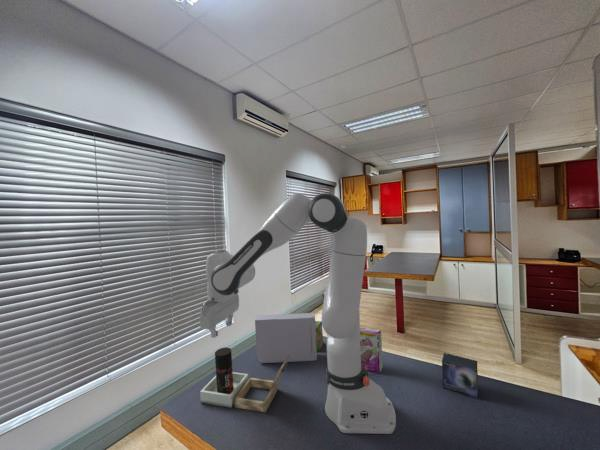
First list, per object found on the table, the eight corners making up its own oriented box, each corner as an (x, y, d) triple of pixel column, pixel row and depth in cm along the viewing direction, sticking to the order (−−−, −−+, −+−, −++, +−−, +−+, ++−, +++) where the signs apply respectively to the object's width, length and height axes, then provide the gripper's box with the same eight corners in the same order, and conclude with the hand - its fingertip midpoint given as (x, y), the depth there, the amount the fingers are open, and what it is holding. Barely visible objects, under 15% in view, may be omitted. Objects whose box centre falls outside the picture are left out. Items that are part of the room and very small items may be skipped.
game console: (317, 361, 110) (315, 317, 110) (257, 364, 111) (254, 320, 110) (316, 354, 116) (314, 312, 116) (259, 356, 117) (257, 315, 116)
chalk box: (319, 352, 118) (317, 321, 117) (301, 350, 121) (299, 320, 120) (323, 342, 126) (322, 314, 126) (306, 341, 129) (305, 313, 129)
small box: (442, 388, 89) (441, 360, 89) (444, 378, 94) (443, 351, 94) (478, 400, 83) (476, 369, 82) (478, 389, 88) (477, 360, 88)
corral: (277, 389, 93) (277, 381, 93) (265, 412, 82) (265, 403, 82) (250, 385, 96) (249, 377, 96) (234, 407, 85) (234, 398, 85)
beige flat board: (277, 380, 93) (280, 382, 93) (265, 402, 82) (268, 405, 82) (288, 354, 92) (291, 356, 91) (277, 373, 81) (280, 375, 80)
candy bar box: (353, 367, 105) (351, 329, 104) (357, 361, 109) (355, 324, 109) (380, 374, 99) (378, 334, 98) (383, 368, 103) (381, 329, 103)
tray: (248, 384, 97) (248, 374, 97) (231, 407, 85) (231, 396, 85) (221, 380, 101) (220, 370, 100) (200, 402, 88) (200, 391, 88)
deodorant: (224, 398, 89) (221, 357, 88) (213, 392, 92) (211, 353, 92) (236, 388, 94) (234, 349, 93) (226, 383, 97) (224, 346, 97)
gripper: (210, 304, 81) (212, 345, 82) (240, 287, 101) (243, 320, 101) (193, 303, 83) (196, 343, 83) (227, 286, 103) (229, 319, 103)
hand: (222, 330), depth 92 cm, fingers open, 8 cm apart
